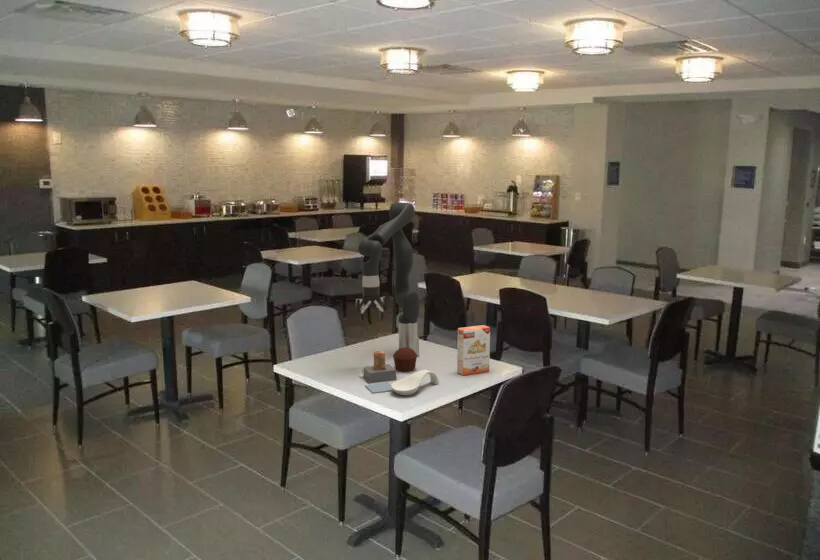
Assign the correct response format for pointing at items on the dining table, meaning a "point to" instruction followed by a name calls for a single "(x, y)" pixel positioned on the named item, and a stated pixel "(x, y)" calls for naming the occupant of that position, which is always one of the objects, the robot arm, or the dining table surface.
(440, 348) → the dining table surface
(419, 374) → the spoon rest
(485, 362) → the cracker box
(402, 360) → the muffin
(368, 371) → the block
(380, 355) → the walnut plug
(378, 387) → the rubber mat
